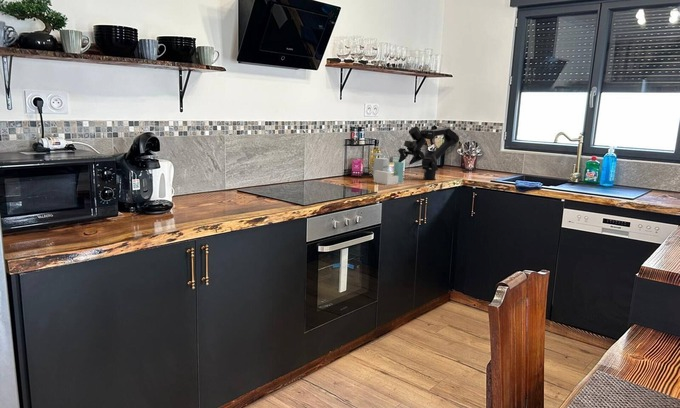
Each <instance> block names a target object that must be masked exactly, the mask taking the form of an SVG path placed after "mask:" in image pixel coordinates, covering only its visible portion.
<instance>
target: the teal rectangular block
mask: <svg viewBox="0 0 680 408" xmlns="http://www.w3.org/2000/svg"><path fill="white" fill-rule="evenodd" d="M404 163H405V162H403V161H402V162H398V161H396V162H394V163H393V174H391V176H399V177H398V184H399V183H403V178H404Z"/></svg>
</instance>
